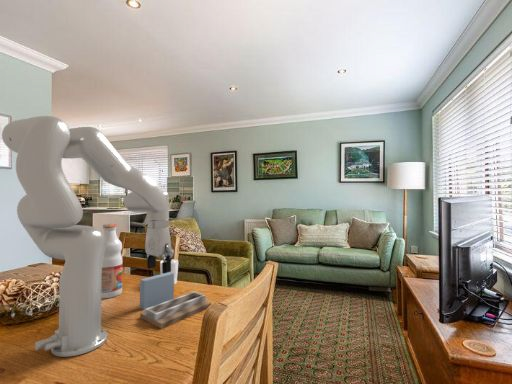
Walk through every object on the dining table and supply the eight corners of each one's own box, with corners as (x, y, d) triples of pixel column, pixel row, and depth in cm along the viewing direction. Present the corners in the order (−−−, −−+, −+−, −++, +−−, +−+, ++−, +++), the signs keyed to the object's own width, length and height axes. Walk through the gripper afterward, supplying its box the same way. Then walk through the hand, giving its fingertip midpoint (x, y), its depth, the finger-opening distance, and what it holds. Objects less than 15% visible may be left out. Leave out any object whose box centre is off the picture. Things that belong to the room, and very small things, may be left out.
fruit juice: (94, 293, 109) (95, 224, 109) (120, 288, 114) (120, 223, 115) (96, 301, 101) (97, 226, 101) (124, 295, 107) (124, 225, 107)
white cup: (166, 287, 116) (166, 264, 116) (156, 283, 121) (156, 261, 121) (181, 282, 122) (181, 260, 123) (171, 279, 127) (171, 258, 127)
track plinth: (161, 328, 80) (161, 317, 80) (140, 317, 88) (140, 306, 88) (211, 306, 96) (211, 297, 96) (189, 298, 104) (189, 289, 104)
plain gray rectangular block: (144, 310, 94) (144, 281, 94) (139, 307, 95) (140, 279, 96) (173, 299, 103) (173, 273, 103) (169, 297, 105) (169, 272, 105)
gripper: (136, 223, 102) (137, 268, 102) (163, 227, 92) (163, 277, 92) (154, 221, 108) (155, 263, 108) (181, 225, 97) (181, 271, 98)
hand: (159, 270), depth 100 cm, fingers open, 9 cm apart
